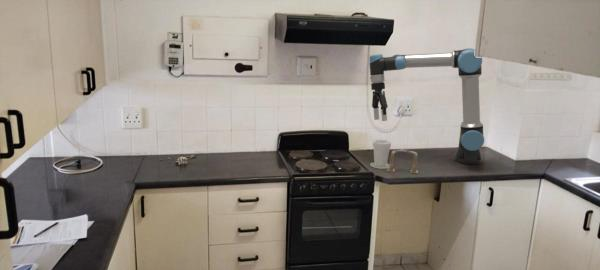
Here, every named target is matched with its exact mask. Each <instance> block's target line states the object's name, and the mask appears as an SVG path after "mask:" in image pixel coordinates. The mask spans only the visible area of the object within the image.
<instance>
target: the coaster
mask: <svg viewBox="0 0 600 270" xmlns="http://www.w3.org/2000/svg"><path fill="white" fill-rule="evenodd" d="M369 167H371V168H373V169H379V170H387V169H390V163H387V164H386V166H384V167H380V166H376V165H375V163H374V162H370V164H369Z"/></svg>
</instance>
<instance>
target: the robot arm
mask: <svg viewBox="0 0 600 270" xmlns="http://www.w3.org/2000/svg"><path fill="white" fill-rule="evenodd" d="M475 50H476V49H474V48H465V49H458V50H453V51H452V52H436V53H435V52H434V53H414V54H413V53H412V54H411V53H410V54H394V55H392V56H387V57H385V56H383V54H379V53H378V54H372V55H369V62H368V63H369V74H370V77H369V79H370V82H371V84H370V86H371V88H370V89H371V90H372V102H371V107H372V108H373V119H374V121H376V120H377V121H378V120H380V113H381V122H385V121H388V115H387V108H388V102H387V98H386V91H385V88H386V84H385V81H386V80H385V72H387V71H389V72H390V71H400V70H405V69H412V68H414V69H415V68H438V67H439V68H440V67H441V68H442V67H443V68H444V67H451V68H453V69H457V71H458V77H460V78H461V95H462V97H461V98H462V99H461V100H462V122H461V123H460V131H459V139H458V147H457V149H456V152H455V154H454V156H453V160H454V161H455V162H457V163H460V164H466V165H480V164H481V163H482V153H481V150H480V149H481V148H483V145H484V144H485V136H484V123H482V122H481V117H480V116H481V112H480V78H479V77H480V76H482V75H483V74H482V69H483V68H482V65H483V64H482V63H483V57H482V58H476V57H475V56H474V51H475ZM379 104H380V109H379ZM380 111H381V112H380ZM379 112H380V113H379Z"/></svg>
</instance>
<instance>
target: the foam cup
mask: <svg viewBox="0 0 600 270" xmlns="http://www.w3.org/2000/svg"><path fill="white" fill-rule="evenodd" d="M372 146H373V160H374V163H375V165H376V166H380V167H384V166H386V164H388V158H389V154H390V151H391V150H390V149H391V146H392V142H391V141H390V140H387V139H374V140H373V141H372Z"/></svg>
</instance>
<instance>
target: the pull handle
mask: <svg viewBox="0 0 600 270" xmlns="http://www.w3.org/2000/svg"><path fill="white" fill-rule="evenodd" d="M401 152H404V153H409V154H413V160H412V162H413V163H412V169H409V172H410V174H419V171H418V170H417V167H418V166H417V165H418V153H417V151H413V150H408V149H403V148H402V149H397V150H391V152H390V159H389V165H390V168H388V169H386V170H387V173H396V169H395V168H394V163H395V162H394V161H395V154H396V153H401Z"/></svg>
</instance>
